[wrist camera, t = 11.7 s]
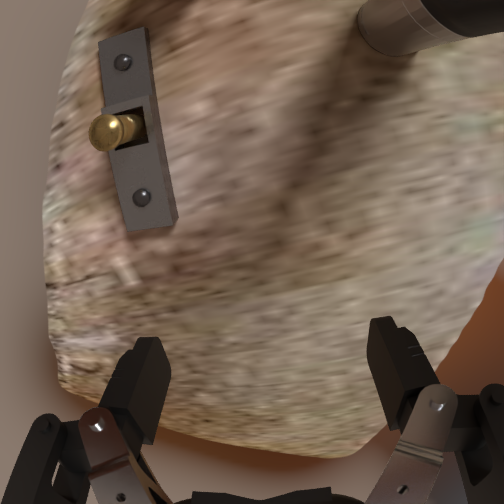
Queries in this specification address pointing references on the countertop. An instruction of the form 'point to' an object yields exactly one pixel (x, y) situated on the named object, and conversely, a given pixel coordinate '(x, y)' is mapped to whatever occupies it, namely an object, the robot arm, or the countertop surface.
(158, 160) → the link plates
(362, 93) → the countertop surface
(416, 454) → the robot arm
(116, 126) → the link pin
